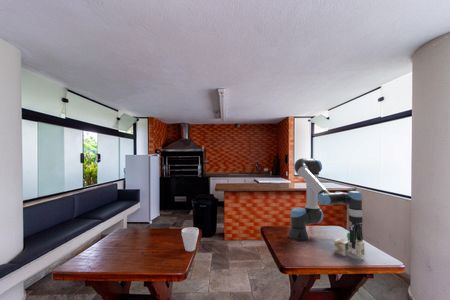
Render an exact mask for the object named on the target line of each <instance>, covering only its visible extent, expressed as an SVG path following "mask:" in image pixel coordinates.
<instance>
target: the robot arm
mask: <svg viewBox="0 0 450 300" xmlns="http://www.w3.org/2000/svg"><path fill="white" fill-rule="evenodd" d="M322 164H323V163H322V161H320V159H318V158H303V157H302V158H299V159H298V160H296V161H295V163H294V165H293V168H294V171H295V173H296V174H297V176H300V177H301V178H302V179H303V180H304V182H305V183H306V184H305V185H306V188H305V189H306V190H305V191H306V205H304V207H294V208H292V209H291V210H290V229H289V232H288V237H289V238H290V240H293V241H298V242H305V241H308V240H309V233H308V231H307V225H311V224H320V223H321V222H322V221H324V220H323V219H324V213H323V210H322V209H321V207H320V206H319V205H318V203H319V204H320V205H322V206H327V205H339V204H343V205H347V206H348V209H347V210H348V220H349V221H348V222H350V223H351V225H350V226H349V232H350V242H351V245H352V253H354V254H357V244H356V237H357V240H359V241H362V242H364V236H363V196H362V192H360V191H357V190H349V191H348V192H344V191H343V192H342V191H335V192H330V191H329V190H327V188H326V187H325V186H324V185H323V184H322V183H321V182H320V180H318V176H320V172H321V171H322V170H323V165H322Z"/></svg>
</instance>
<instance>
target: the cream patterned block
mask: <svg viewBox="0 0 450 300" xmlns="http://www.w3.org/2000/svg"><path fill="white" fill-rule="evenodd" d="M347 241H348V240H347ZM356 244H357V254H354V253H352V245H351V242H350V240H349V241H348V252H349V254H351V255H354V256H357V257H360V258H361V253H362V256H365V255H366V251H365V250H366V249H365V242H364V241H359V240H356Z"/></svg>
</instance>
